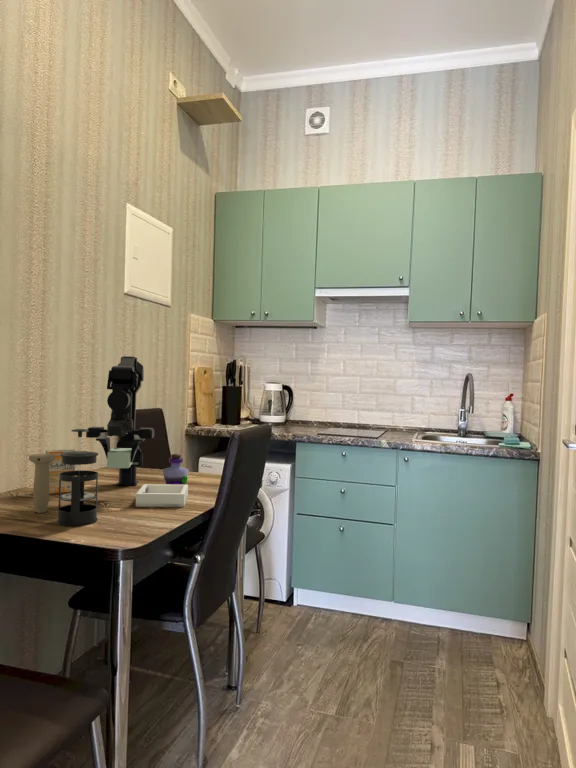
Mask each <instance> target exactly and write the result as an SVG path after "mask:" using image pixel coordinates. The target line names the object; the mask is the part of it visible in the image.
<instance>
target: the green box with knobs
mask: <svg viewBox="0 0 576 768" xmlns="http://www.w3.org/2000/svg"><path fill="white" fill-rule="evenodd" d="M131 450H132V448H116V447H112V448H110V451H109V452H108V456H107V458H106V460H107V461H106V465H107V469H119V468H129V467H130V466H131V464H132V463H133V462H131Z"/></svg>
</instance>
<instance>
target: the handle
mask: <svg viewBox="0 0 576 768" xmlns="http://www.w3.org/2000/svg"><path fill="white" fill-rule="evenodd" d="M55 458H56V455H53V454H46V453H38V454H37V453H35V454H30V455H29V454H28V461H29V462H31V463H33V464H34V476H33V477H34V478H33V488H32V489H33V491H32V497H33V500H32V501H33V512H34V513H35V512H37V514H42V513H44V512H45V513H47V512H48V510H49V506H48V505H49V502H50V495H51V494H50V490H49V489H50V485H49V464H50V463H51V462H53V461H54V460H55ZM46 511H47V512H46Z"/></svg>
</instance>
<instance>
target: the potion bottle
mask: <svg viewBox="0 0 576 768" xmlns="http://www.w3.org/2000/svg"><path fill="white" fill-rule="evenodd" d="M181 455H182V454H181V453H173V454H171V456H170V457H168V458H169V459H168V462H169V463H171V465H170V466H169V467H166V468H163V469H162V474H163V479H164V481H165V484H170V485H186V484H187V482H188V475H189V471H190V470H189V469H188V468H187V467H181V464H182V463H183V460H184V459H183V457H181Z"/></svg>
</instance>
